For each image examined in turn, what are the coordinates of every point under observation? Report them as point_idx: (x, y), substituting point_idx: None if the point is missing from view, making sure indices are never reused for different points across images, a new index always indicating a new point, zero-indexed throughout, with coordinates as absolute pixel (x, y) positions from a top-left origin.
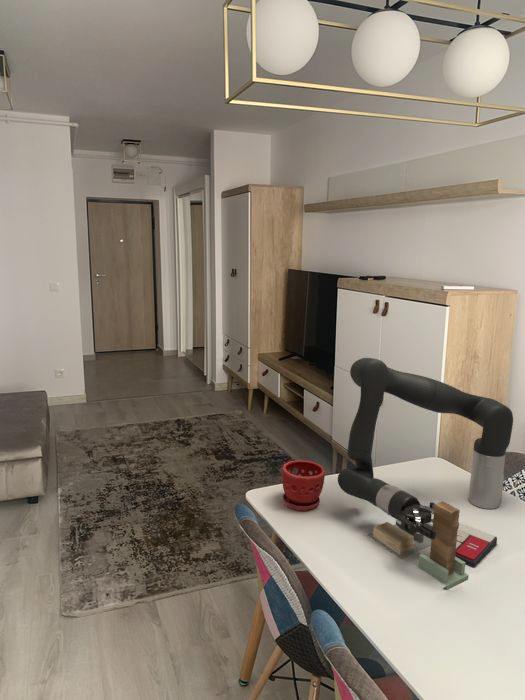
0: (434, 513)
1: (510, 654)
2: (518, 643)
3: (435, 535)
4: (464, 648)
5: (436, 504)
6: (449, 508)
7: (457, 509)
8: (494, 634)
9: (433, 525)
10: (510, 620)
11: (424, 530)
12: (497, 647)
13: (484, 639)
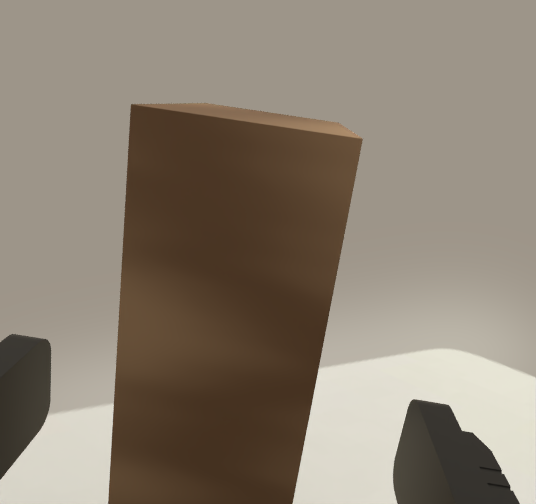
0: (326, 306)
1: (378, 371)
2: (323, 369)
3: (403, 431)
4: (493, 435)
5: (338, 134)
6: (272, 115)
7: (218, 105)
8: (355, 406)
9: (295, 482)
10: None
11: (514, 496)
12: (390, 391)
13: (402, 415)
